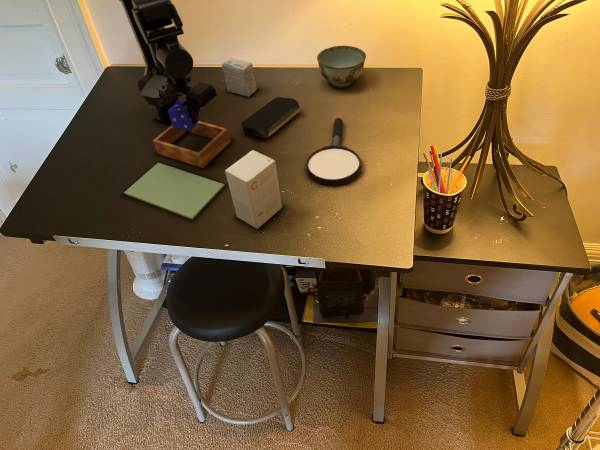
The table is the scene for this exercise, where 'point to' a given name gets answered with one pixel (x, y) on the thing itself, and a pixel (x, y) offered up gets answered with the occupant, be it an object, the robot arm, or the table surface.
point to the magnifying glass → (334, 161)
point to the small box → (254, 188)
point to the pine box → (188, 156)
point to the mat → (175, 190)
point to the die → (181, 116)
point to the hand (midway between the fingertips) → (185, 120)
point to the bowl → (341, 64)
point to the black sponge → (271, 117)
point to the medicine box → (239, 77)
